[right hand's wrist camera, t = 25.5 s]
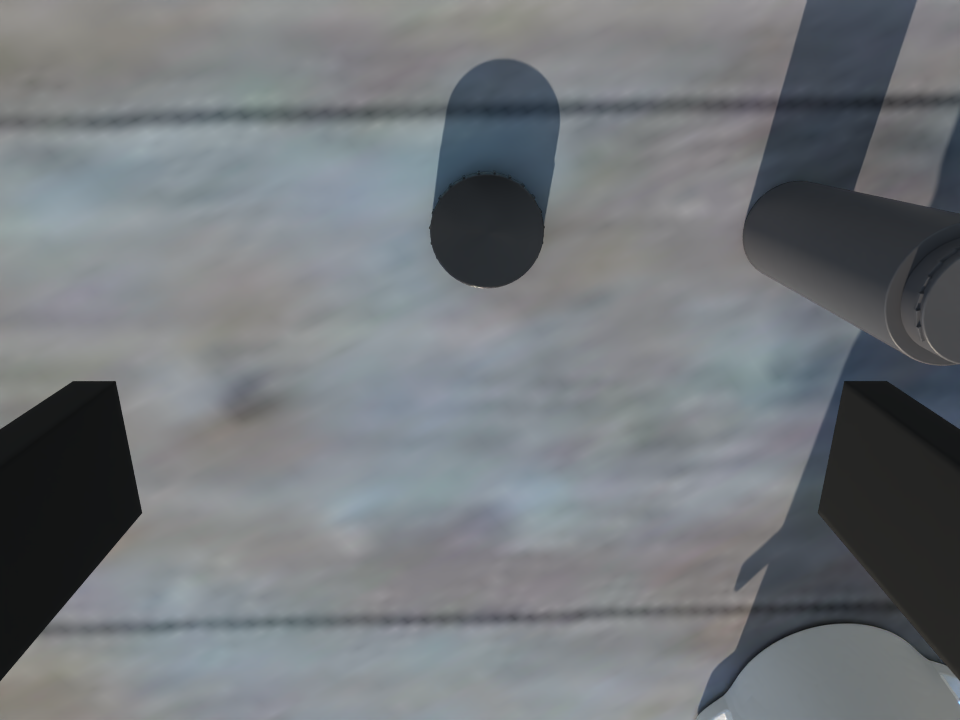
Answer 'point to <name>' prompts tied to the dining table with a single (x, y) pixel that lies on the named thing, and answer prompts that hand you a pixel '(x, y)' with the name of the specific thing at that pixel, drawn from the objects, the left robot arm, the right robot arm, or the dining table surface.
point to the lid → (486, 230)
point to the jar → (865, 263)
